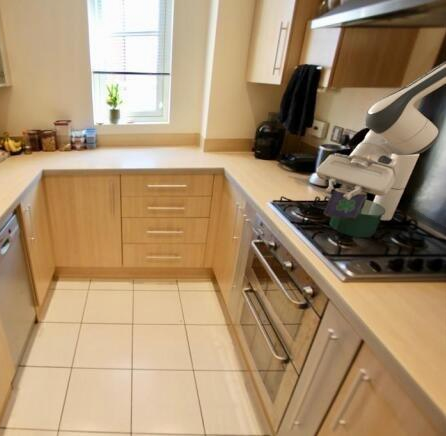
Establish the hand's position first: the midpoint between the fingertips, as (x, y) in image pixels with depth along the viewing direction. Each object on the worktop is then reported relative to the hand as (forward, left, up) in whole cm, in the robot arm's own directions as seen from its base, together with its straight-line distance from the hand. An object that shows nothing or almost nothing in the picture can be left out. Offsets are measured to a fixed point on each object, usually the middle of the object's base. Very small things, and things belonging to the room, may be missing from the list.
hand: (337, 195), depth 98 cm
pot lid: (+1, -19, -9) cm, 21 cm away
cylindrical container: (+1, -38, -18) cm, 42 cm away
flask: (-1, -4, -8) cm, 9 cm away
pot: (+1, -19, -17) cm, 26 cm away
